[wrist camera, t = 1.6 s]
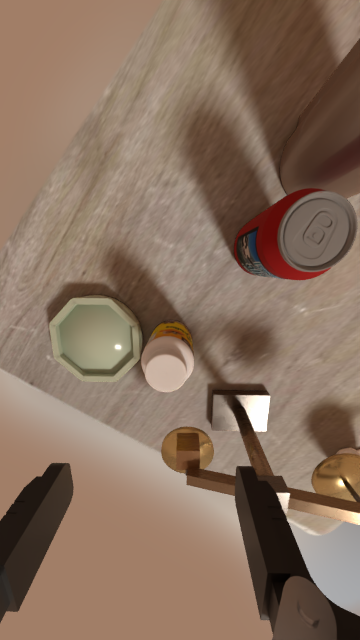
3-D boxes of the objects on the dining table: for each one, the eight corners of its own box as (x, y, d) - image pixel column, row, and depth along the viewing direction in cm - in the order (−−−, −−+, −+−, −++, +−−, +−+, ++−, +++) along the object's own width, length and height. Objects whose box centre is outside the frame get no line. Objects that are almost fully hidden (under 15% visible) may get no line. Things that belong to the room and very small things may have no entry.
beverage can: (222, 258, 27) (251, 252, 15) (251, 207, 25) (309, 157, 14) (266, 285, 28) (326, 298, 16) (298, 236, 26) (389, 212, 14)
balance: (167, 423, 33) (154, 542, 19) (166, 389, 32) (152, 489, 17) (307, 426, 33) (402, 548, 18) (313, 391, 31) (422, 495, 17)
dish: (51, 294, 28) (43, 296, 27) (141, 295, 28) (138, 297, 26) (63, 375, 31) (56, 382, 30) (144, 377, 31) (142, 383, 29)
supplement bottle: (199, 334, 29) (208, 369, 20) (175, 363, 31) (171, 410, 21) (167, 310, 29) (158, 333, 19) (144, 341, 30) (124, 379, 20)
